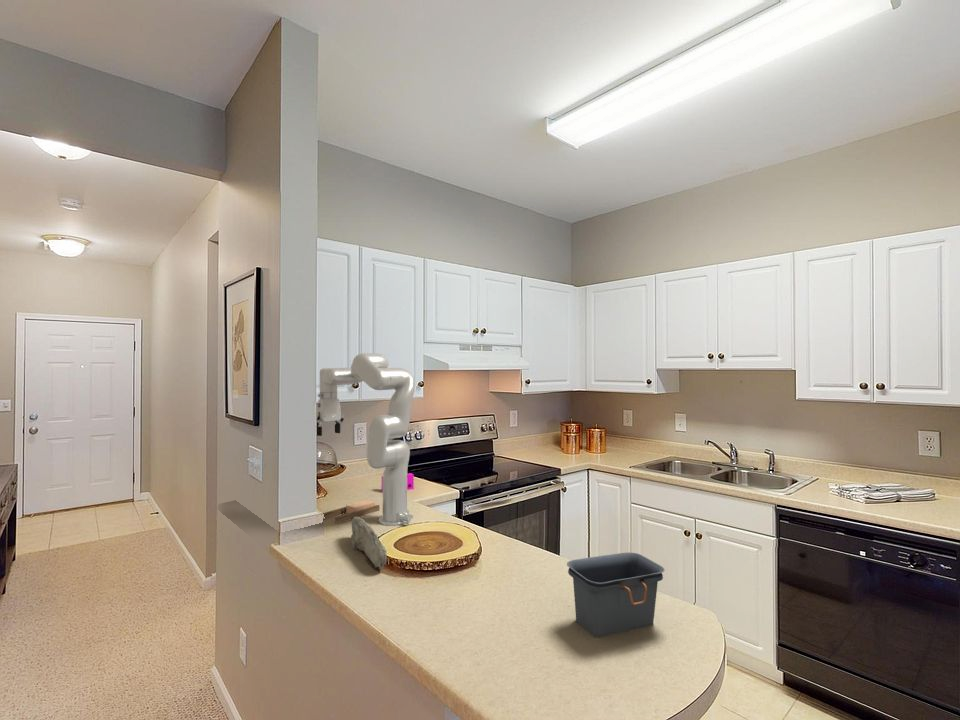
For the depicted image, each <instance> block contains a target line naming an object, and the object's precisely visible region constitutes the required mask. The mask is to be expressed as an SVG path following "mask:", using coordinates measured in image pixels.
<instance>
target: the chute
mask: <svg viewBox="0 0 960 720" xmlns="http://www.w3.org/2000/svg"><path fill="white" fill-rule="evenodd" d="M379 511H380V504H375V506H372V507H369V508H366V509H362V510H359V511H356V512H352V513H349V514H347V513H346V506H343V507H341V508H340V507H339V508H337V509H333V510H330V511H326V512H323V514H324V517H325V519H324V520H327V519H330V518H333V517H335V518H334V523H335V525H337V524H341V523H344V522H346V521H347V520H348V521H350V519H351V520H352V519H353V518H354V517H360V518H361V517H363V516H366V514H367V515H369V514H372V513H373V514H374V513H376V512H379ZM343 513H344V514H343ZM340 514H341V515H340Z"/></svg>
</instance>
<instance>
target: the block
mask: <svg viewBox="0 0 960 720" xmlns="http://www.w3.org/2000/svg"><path fill="white" fill-rule="evenodd" d="M372 506H376V502H375V501H372V500H368V499H364V500H359V501H357V502H353V503H350V504H346V505H345V507H346V513H345V514H347V513H348V514H349V513H352V512H356V511H359V510H362V509H366V508H369V507H372Z"/></svg>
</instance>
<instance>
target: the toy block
mask: <svg viewBox="0 0 960 720" xmlns="http://www.w3.org/2000/svg"><path fill="white" fill-rule="evenodd" d="M414 476H415V475H414V473H407V491H408V490H414V488H415V483H414V479H415V477H414ZM381 492H382V493H383V475H381Z"/></svg>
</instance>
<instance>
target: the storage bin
mask: <svg viewBox="0 0 960 720" xmlns="http://www.w3.org/2000/svg"><path fill="white" fill-rule="evenodd" d="M566 566H567V567H568V569H567V571H568V572H567V573H568V575H569V576H570V577H572V579H573V580H572V581H573V593H574V596H573V597H574V608H575V622H577V624H579V625H580V626H581V627H582V628H583V629H584V630H585V631H586V632H588V633H589V634H590V635H591V636H592V637H593V638H597V639H599V638H604V637H607V636H612V635H615V634H618V633H623V632H628V631H631V630H635V629H640V628H643V627H648V626H652V625H654V619H655V611H656V602H657V601H656V600H657V593H658V583H659V582H660V581H662V580H664V575H663V573H664V572H665V568H664V566H662V565H661V564H659V563H657V562H655V561H653V560H652V559H649V558H648V557H646V556H644V555H643V554H640V553H636V552H620V553H612V554H611V553H610V554H605V555H599V556H592V557H591V556H590V557H583V558H578V559H571V560H569V561H567V562H566Z"/></svg>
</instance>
